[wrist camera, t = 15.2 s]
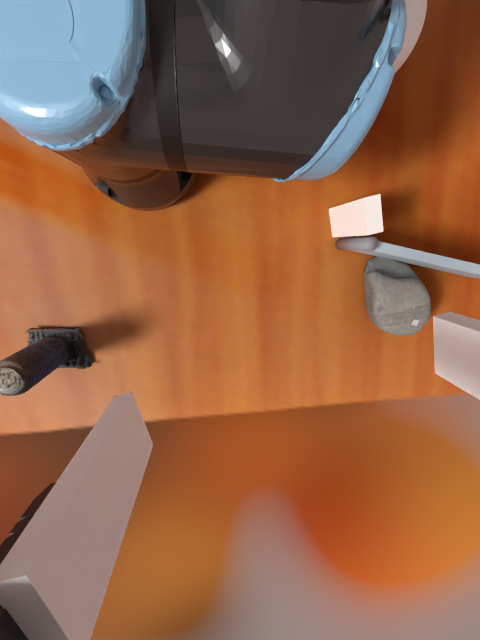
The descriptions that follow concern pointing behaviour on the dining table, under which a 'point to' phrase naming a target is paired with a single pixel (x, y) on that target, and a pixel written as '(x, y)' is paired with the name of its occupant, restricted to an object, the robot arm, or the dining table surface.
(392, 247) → the door
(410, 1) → the ornament
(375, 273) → the stone
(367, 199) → the tilted pink plank
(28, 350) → the blue column with base
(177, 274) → the dining table surface
